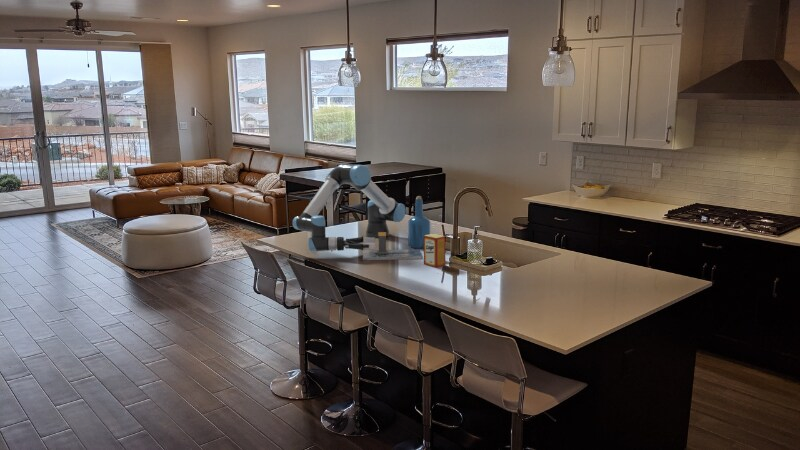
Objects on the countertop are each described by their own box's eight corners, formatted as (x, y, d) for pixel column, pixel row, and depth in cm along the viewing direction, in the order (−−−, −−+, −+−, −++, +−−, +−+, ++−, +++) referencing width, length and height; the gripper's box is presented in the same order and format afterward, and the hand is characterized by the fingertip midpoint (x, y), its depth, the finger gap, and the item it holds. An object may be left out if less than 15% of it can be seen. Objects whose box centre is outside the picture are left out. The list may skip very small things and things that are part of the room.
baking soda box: (423, 264, 337) (423, 234, 334) (432, 262, 341) (432, 232, 338) (436, 267, 330) (436, 237, 327) (445, 265, 334) (445, 235, 331)
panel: (363, 253, 363) (363, 250, 362) (419, 251, 364) (419, 249, 363) (362, 260, 347) (362, 257, 347) (421, 258, 348) (421, 256, 348)
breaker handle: (377, 251, 357) (376, 232, 355) (387, 251, 357) (387, 232, 355) (377, 253, 353) (376, 234, 350) (388, 253, 353) (387, 233, 351)
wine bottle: (431, 249, 370) (430, 198, 364) (408, 249, 370) (407, 198, 364) (430, 243, 383) (430, 194, 377) (408, 243, 384) (407, 194, 378)
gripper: (338, 245, 365) (375, 244, 366) (335, 255, 341) (375, 254, 342) (337, 232, 364) (374, 231, 365) (335, 242, 340) (375, 241, 340)
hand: (375, 242), depth 353 cm, fingers open, 13 cm apart
